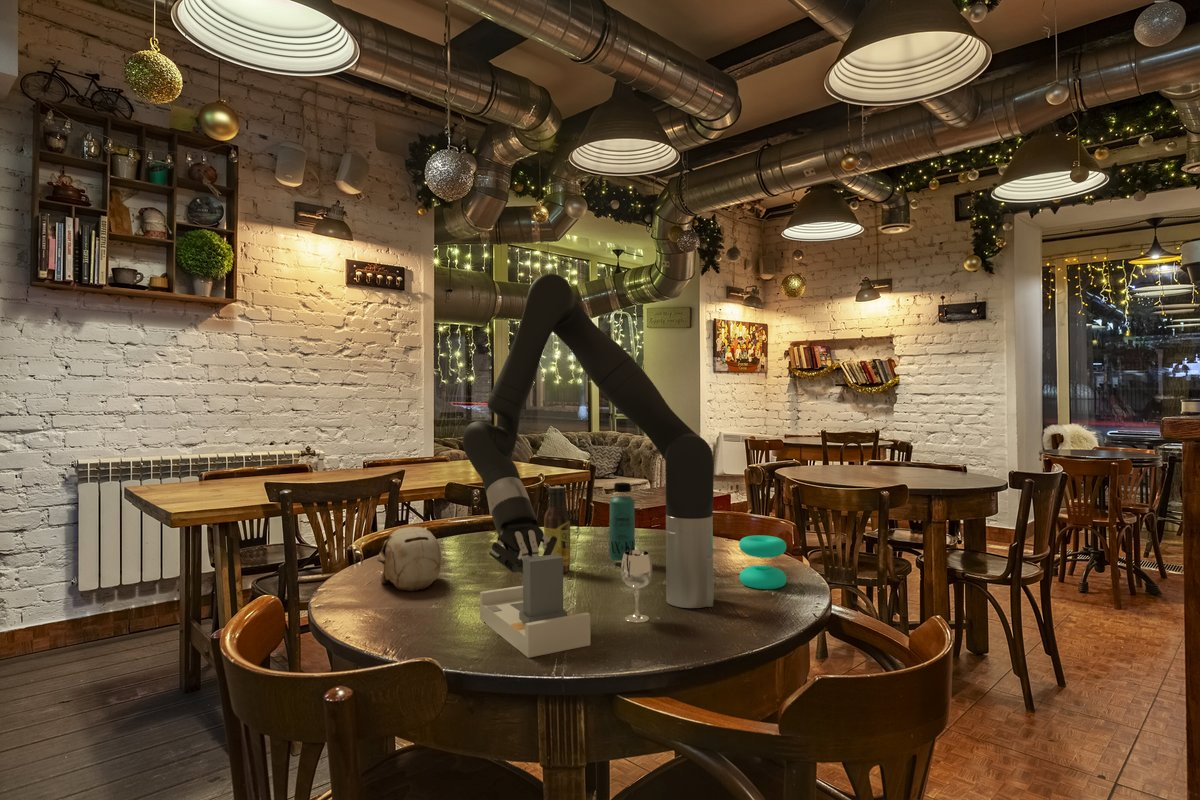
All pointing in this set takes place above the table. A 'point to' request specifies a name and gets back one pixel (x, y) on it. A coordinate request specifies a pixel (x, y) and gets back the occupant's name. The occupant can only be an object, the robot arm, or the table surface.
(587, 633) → the tray
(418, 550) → the coin bank
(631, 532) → the beverage bottle
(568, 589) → the table surface
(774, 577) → the donuts
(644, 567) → the wineglass
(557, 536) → the sauce bottle
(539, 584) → the switch tab
